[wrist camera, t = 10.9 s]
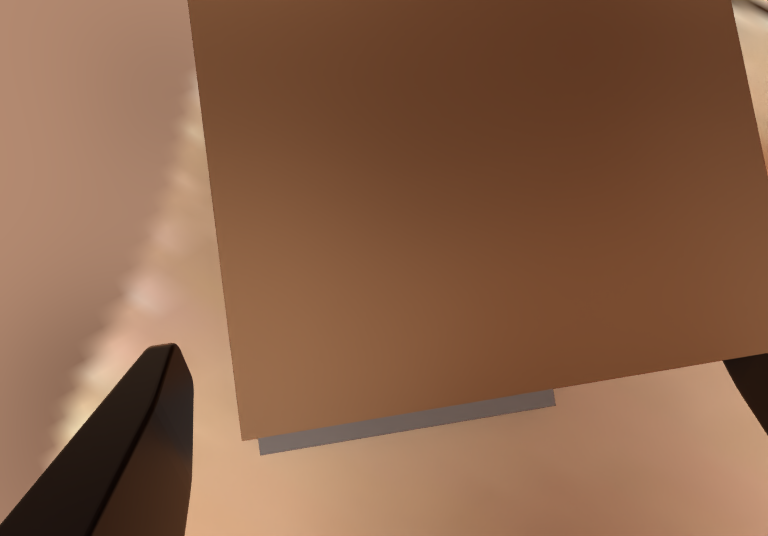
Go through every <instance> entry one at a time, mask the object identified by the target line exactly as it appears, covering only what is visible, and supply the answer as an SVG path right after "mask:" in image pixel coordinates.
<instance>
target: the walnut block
mask: <svg viewBox="0 0 768 536" xmlns="http://www.w3.org/2000/svg"><path fill="white" fill-rule="evenodd" d="M188 7H189V14H190V23H191V31H192V40H193V48H194V56H195V64H196V72H197V80H198V88H199V96H200V105H201V113H202V121H203V129H204V137H205V145H206V153H207V161H208V169H209V178H210V186H211V194H212V202H213V210H214V218H215V226H216V234H217V242H218V251H219V259H220V267H221V275H222V283H223V291H224V299H225V307H226V315H227V324H228V332H229V340H230V348H231V356H232V364H233V372H234V380H235V388H236V397H237V405H238V413H239V421H240V429H241V437H242V441H245V440H251V439H257V438H263V437H269V436H275V435H281V434H287V433H293V432H299V431H305V430H311V429H317V428H323V427H329V426H335V425H341V424H347V423H353V422H359V421H364V420H370V419H376V418H382V417H388V416H394V415H400V414H406V413H412V412H418V411H424V410H430V409H436V408H442V407H448V406H454V405H460V404H466V403H472V402H478V401H484V400H490V399H496V398H502V397H508V396H514V395H520V394H525V393H531V392H537V391H543V390H549V389H555V388H561V387H567V386H573V385H579V384H585V383H591V382H597V381H603V380H609V379H615V378H621V377H627V376H633V375H639V374H645V373H651V372H657V371H663V370H669V369H675V368H681V367H686V366H692V365H698V364H704V363H710V362H716V361H722V360H728V359H734V358H740V357H746V356H752V355H758V354H764V353H768V176H767V171H766V166H765V161H764V157H763V152H762V147H761V142H760V138H759V133H758V128H757V123H756V118H755V114H754V109H753V104H752V99H751V94H750V90H749V85H748V80H747V75H746V70H745V66H744V61H743V56H742V51H741V47H740V42H739V37H738V32H737V27H736V23H735V18H734V13H733V8H732V3H731V0H188Z"/></svg>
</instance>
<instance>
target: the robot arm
mask: <svg viewBox="0 0 768 536" xmlns="http://www.w3.org/2000/svg"><path fill="white" fill-rule="evenodd" d="M722 361H723V363H724V365H725V366H726V368H727V370H728V372H729V374H730V376H731V378H732V380H733V381H734V383H735V385H736V387H737V389H738V390H739V392H740V393H741V395H742V397H743V398H744V400H745V401H746V403H747V404H748V406H749V407H750V409H751V411H752V412H753V414H754V415H755V417H756V418H757V420H758V421H759V423H760V424H761V426H762V427H763V429H764V430H765V432H766V433H767V435H768V353H764V354H758V355H752V356H746V357H740V358H734V359H728V360H722ZM193 398H194V388H193V380H192V376H191V374H190V371H189V369H188V367H187V364H186V362H185V360H184V357H183V355H182V353H181V350H180V348H179V347H178V346H177V345H176V344H175V343H168V344H161V345H155V346H150V347H149V348H147V349H146V350H145V351H144V352H143V353H142V355H141V356H140V357H139V358H138V359H137V361H136V362H135V363H134V364H133V365H132V367H131V368H130V369H129V370H128V371H127V373H126V374H125V375H124V376H123V377H122V379H121V380H120V381H119V382H118V383H117V385H116V386H115V387H114V388H113V389H112V391H111V392H110V393H109V394H108V396H107V397H106V398H105V399H104V400H103V402H102V403H101V404H100V405H99V406H98V408H97V409H96V410H95V411H94V412H93V414H92V415H91V416H90V417H89V418H88V420H87V421H86V422H85V423H84V424H83V426H82V427H81V428H80V429H79V430H78V432H77V433H76V434H75V435H74V436H73V438H72V439H71V440H70V441H69V443H68V444H67V445H66V446H65V447H64V449H63V450H62V451H61V452H60V453H59V455H58V456H57V457H56V458H55V459H54V461H53V462H52V463H51V464H50V465H49V467H48V468H47V469H46V470H45V471H44V473H43V474H42V475H41V476H40V477H39V479H38V480H37V481H36V482H35V483H34V485H33V486H32V487H31V488H30V490H29V491H28V492H27V493H26V494H25V496H24V497H23V498H22V499H21V501H20V502H19V503H18V504H17V505H16V506H15V508H14V509H13V510H12V511H11V513H10V514H9V515H8V516H7V517H6V519H5V520H4V521H3V522H2V523H1V524H0V536H185V528H186V521H187V514H188V507H189V499H190V491H191V482H192V456H193Z"/></svg>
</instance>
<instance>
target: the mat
mask: <svg viewBox="0 0 768 536" xmlns="http://www.w3.org/2000/svg"><path fill="white" fill-rule="evenodd" d="M550 406H556V404H555V398H554V392H553V389H549V390H543V391H537V392H531V393H525V394H520V395H514V396H508V397H502V398H496V399H490V400H484V401H478V402H472V403H466V404H460V405H454V406H448V407H442V408H436V409H430V410H424V411H418V412H412V413H406V414H400V415H394V416H388V417H382V418H376V419H370V420H364V421H359V422H353V423H347V424H341V425H335V426H329V427H323V428H317V429H311V430H305V431H299V432H293V433H287V434H281V435H275V436H269V437H263V438H258V441H259V449H260V455H266V454H272V453H278V452H284V451H290V450H296V449H302V448H307V447H313V446H319V445H325V444H331V443H337V442H343V441H349V440H355V439H361V438H367V437H373V436H379V435H384V434H390V433H396V432H402V431H408V430H414V429H420V428H426V427H432V426H438V425H444V424H450V423H456V422H461V421H467V420H473V419H479V418H485V417H491V416H497V415H503V414H509V413H515V412H521V411H527V410H533V409H538V408H544V407H550Z"/></svg>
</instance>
